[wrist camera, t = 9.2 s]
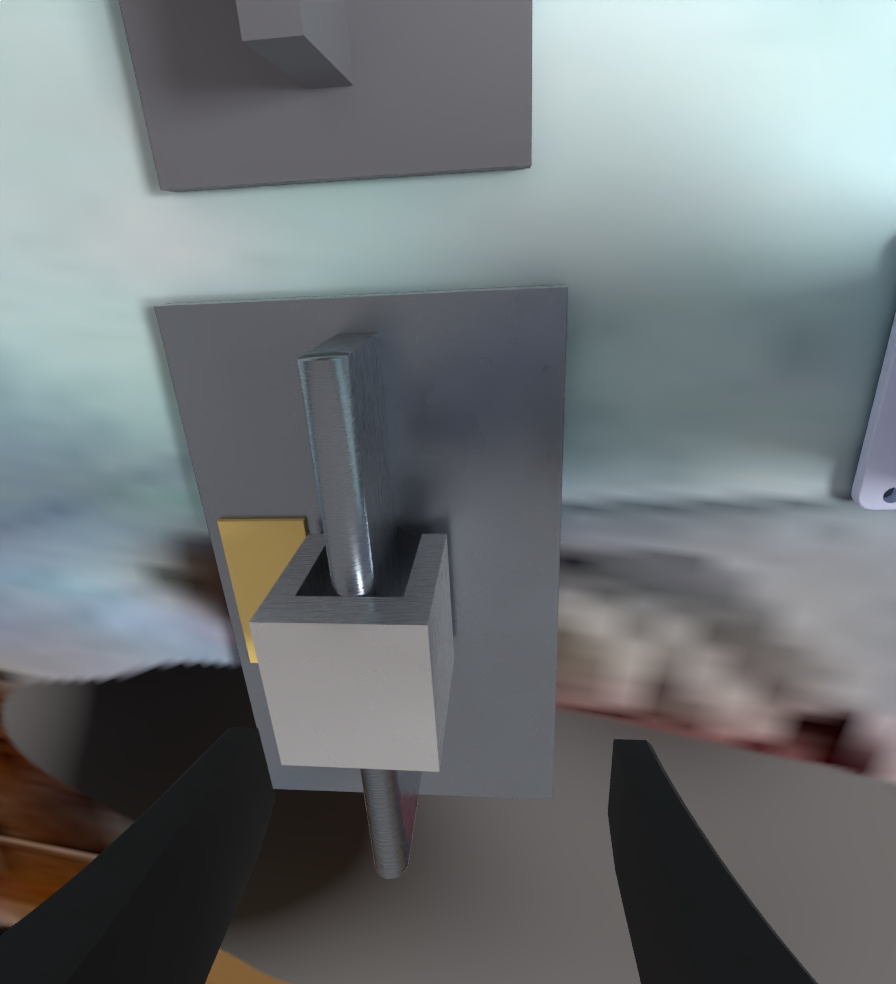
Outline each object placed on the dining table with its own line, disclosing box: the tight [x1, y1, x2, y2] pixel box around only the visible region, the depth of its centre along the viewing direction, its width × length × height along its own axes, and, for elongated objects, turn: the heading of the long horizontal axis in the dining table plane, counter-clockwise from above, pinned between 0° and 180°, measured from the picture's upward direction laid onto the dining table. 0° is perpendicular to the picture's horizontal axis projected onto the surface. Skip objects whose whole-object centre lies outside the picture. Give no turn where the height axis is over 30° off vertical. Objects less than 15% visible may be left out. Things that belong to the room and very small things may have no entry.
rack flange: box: [154, 285, 567, 879], centre depth 19 cm, size 12×20×5 cm, turn 3°
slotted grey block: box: [249, 534, 454, 772], centre depth 18 cm, size 5×5×5 cm
